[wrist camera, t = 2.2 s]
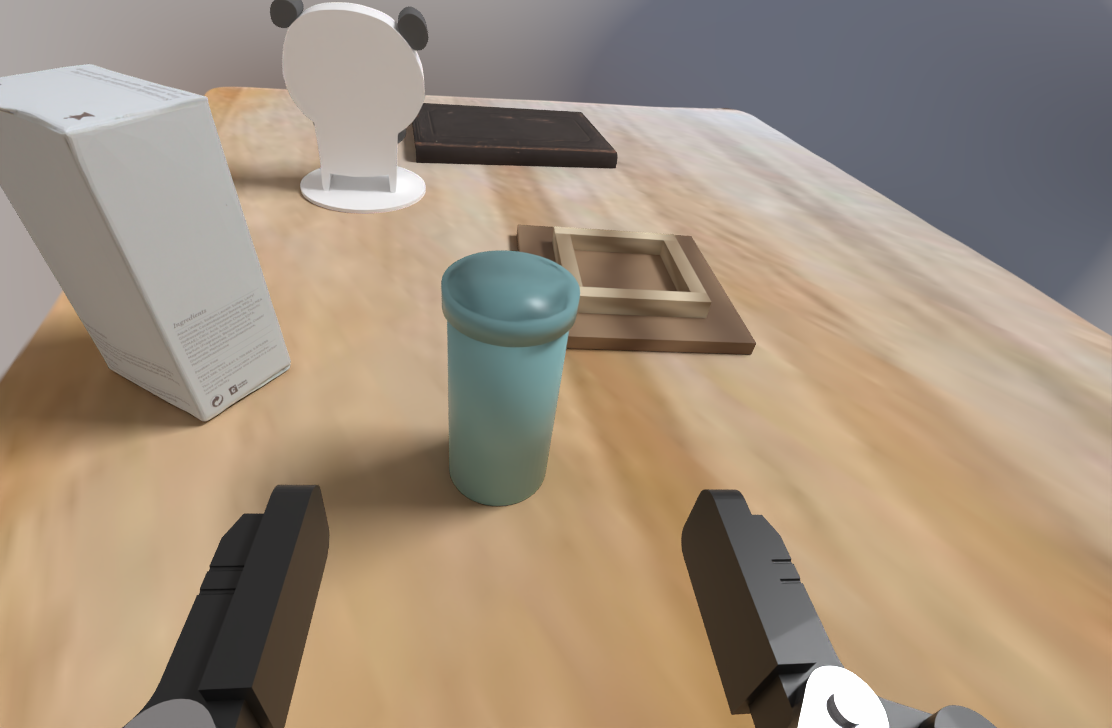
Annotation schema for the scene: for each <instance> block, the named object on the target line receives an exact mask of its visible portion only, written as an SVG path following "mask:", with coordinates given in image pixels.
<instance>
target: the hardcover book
mask: <svg viewBox="0 0 1112 728" xmlns="http://www.w3.org/2000/svg"><path fill="white" fill-rule="evenodd" d="M412 124H413V132H414V140H415V147H416V162H417V163H447V164H481V165H515V166H550V167H584V168H616V164H617V152H616V151H615V150H614V149H613V148H612V146H611V145H610V144H609V143H608V142H607V141H606V140H605V138H604V137H603V136H602V135H601V134H600V133H599V132H598V131H597V129H596V128H595V127H594V126H593V125H592V124H591V123H590V121H589V120H588V119H587V118H586V117H585V116H584V115H583V114H582V112H569V111H551V110H534V109H516V108H499V107H482V106H464V105H447V104H429V103H423V105H422V107H421V109H420V111H419V113H418V115H417V116H416V118H415V119H414V120H413V122H412Z"/></svg>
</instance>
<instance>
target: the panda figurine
mask: <svg viewBox="0 0 1112 728" xmlns="http://www.w3.org/2000/svg"><path fill="white" fill-rule="evenodd" d="M302 11H303V3H302V1H301V0H274V1H273V2H272V4H271V8H270V15H271V19H272V22H273V23H274V24H275V25H276V26H278V27H281V28H287V27H289V26H290V27H289V28H288V30H287V33H286V36H285V41H284V46H283V55H282V70H283V76H284V81H285V84H286V87H287V90H288V92H289V94H290V96H291V98H292V99H293V101H294V103H295V104H296V106H297V107H298V108H299V109H300V111H301V112H302V113H303V114H304V115H305V116H306V117H308V118H309V119H310V120H312V121H313V123H314V126H315V131H316V137H317V143H318V149H319V156H320V164H321V168H319V169H317V170H314V171H312V172H310V173H309V174H307V175H306V176H305V177H304V178H303V179H302V181H301V183H300V188H301V192H302V194H303V196H304V197H305V198H306V199H307V200H309V201H310V202H312V203H313V204H315V205H318V206H320V207H323V208H326V209H330V210H334V211H340V212H347V213H362V214H365V213H382V212H389V211H395V210H399V209H402V208H405V207H408V206H411V205H413V204H415V203H416V202H418V201H419V200H420V199H421V198H422V197H423V196H424V194H425V191H426V188H425V183H424V181H423V179H422V178H421V177H420V176H418V175H417V174H415V173H414V172H412V171H409V170H407V169H404V168H401V167H398V166H397V146H398V143H399V142H401V141H402V140H403V139H404V137H405V135H406V128H407V127H408V126H409V125H410V124H411V123H412V122H413V120H414V119H415V118H416V116H417V115H418V113H419V111H420V109H421V107H422V105H423V102H424V98H425V86H424V76H423V69H422V65H421V61H420V59H419V56H418V53H417V51H416V50H422V49H424V47H425V46H426V44H427V42H428V33H427V32H428V31H427V25H426V22H425V19H424V17H423V15H422V14H421V13H420V12H419V11H418V10H417V9H415V8H413V7H406V8H404V9H403V10H402V11H401V12H400V14H399V17H398V23H396V22H395V21H394V20H393V19H392V18H391V17H389V16H388V15H386V14H384V13H383V12H381V11H378V10H375V9H373V8H369V7H367V6H363V5H359V4H353V3H340V2H333V3H322V4H317V5H314V6H312V7H310V8H308V9H306V10H305V11H304V12H302Z"/></svg>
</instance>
